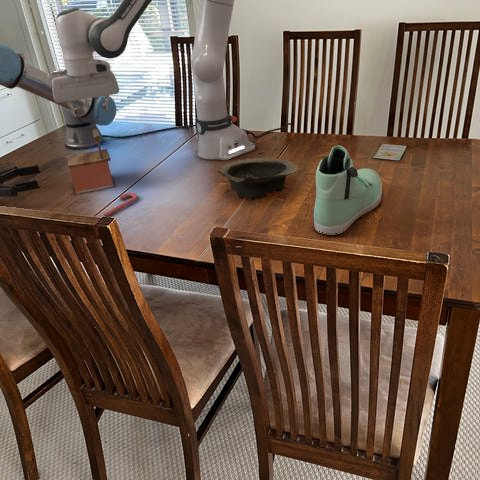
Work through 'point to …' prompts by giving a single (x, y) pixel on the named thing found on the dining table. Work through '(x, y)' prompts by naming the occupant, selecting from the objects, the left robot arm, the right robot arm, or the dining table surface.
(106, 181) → the chest
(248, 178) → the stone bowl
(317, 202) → the sneaker
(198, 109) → the right robot arm
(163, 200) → the dining table surface
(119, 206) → the candy cane
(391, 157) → the baking ingredient package
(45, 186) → the dining table surface
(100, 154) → the lid
